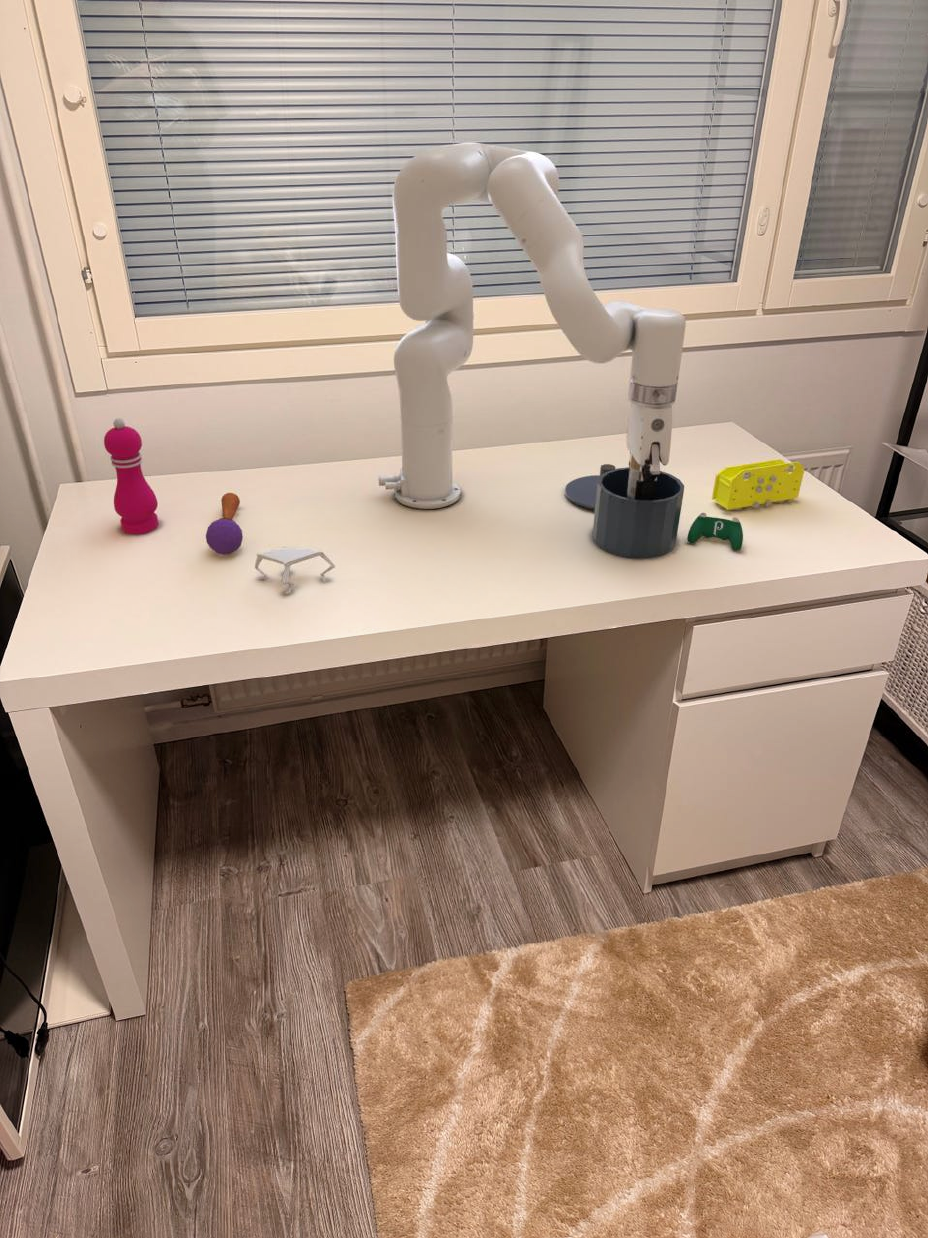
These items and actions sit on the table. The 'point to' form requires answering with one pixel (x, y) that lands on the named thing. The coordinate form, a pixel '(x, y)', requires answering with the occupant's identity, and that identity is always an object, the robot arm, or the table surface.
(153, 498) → the pepper mill
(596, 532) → the pot
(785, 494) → the yellow toy chassis
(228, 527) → the purple maraca
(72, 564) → the table surface
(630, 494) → the sprinkles bottle
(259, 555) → the grey toy table
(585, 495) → the lid
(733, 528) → the gaming controller
